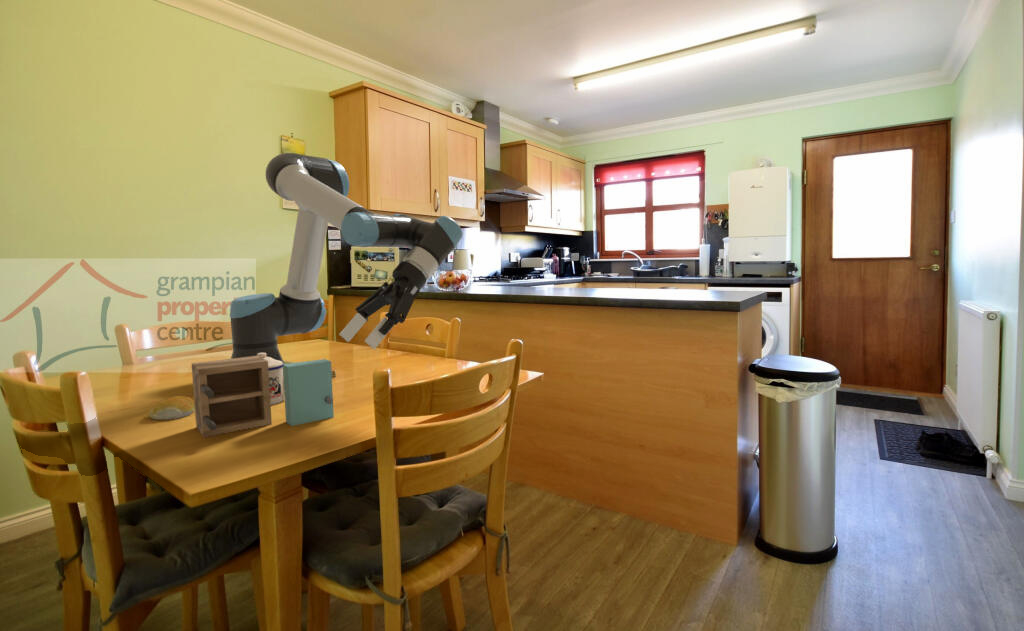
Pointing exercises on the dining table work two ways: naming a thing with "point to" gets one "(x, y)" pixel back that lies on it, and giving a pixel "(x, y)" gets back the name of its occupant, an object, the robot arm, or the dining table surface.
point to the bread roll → (172, 408)
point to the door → (308, 391)
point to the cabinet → (231, 395)
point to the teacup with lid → (275, 379)
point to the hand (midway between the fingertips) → (356, 341)
